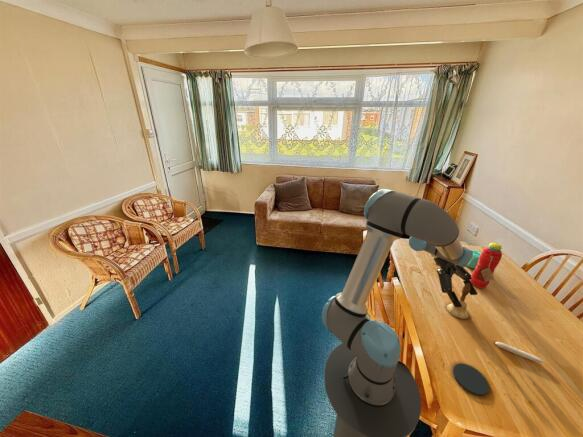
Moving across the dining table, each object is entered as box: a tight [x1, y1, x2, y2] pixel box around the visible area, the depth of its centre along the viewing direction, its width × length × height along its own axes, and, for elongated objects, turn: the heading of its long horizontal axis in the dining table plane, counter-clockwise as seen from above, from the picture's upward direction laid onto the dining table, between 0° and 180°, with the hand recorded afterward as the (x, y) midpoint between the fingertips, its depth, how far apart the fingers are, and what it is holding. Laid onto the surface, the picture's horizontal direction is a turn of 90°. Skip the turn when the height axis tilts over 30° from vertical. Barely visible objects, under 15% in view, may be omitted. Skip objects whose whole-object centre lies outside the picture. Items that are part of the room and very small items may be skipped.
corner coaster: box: [452, 363, 490, 397], centre depth 78 cm, size 10×10×1 cm
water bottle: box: [470, 242, 503, 289], centre depth 113 cm, size 12×8×25 cm, turn 142°
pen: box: [494, 341, 546, 364], centre depth 86 cm, size 2×14×2 cm, turn 55°
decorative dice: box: [466, 249, 482, 270], centre depth 133 cm, size 8×8×8 cm
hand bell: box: [446, 283, 470, 320], centre depth 101 cm, size 8×8×16 cm
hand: (466, 300), depth 100 cm, fingers open, 13 cm apart
